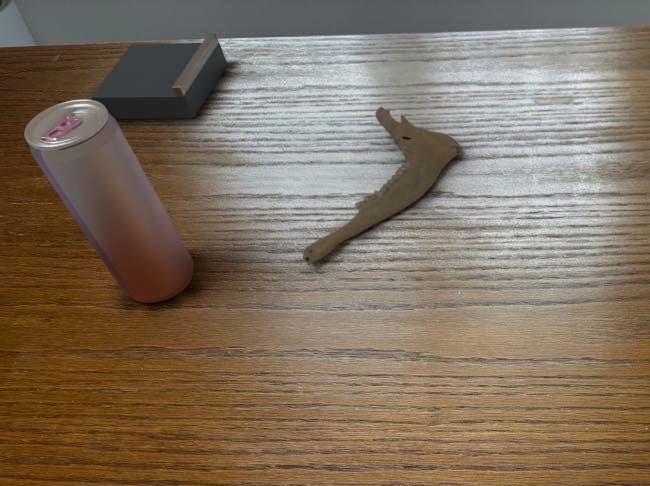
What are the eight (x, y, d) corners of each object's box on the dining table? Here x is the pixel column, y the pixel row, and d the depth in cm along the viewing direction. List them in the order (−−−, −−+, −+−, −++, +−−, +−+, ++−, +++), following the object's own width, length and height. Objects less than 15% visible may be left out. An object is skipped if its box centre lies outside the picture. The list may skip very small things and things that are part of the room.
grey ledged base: (102, 119, 86) (85, 88, 83) (141, 65, 92) (126, 34, 89) (194, 118, 84) (179, 86, 81) (228, 64, 90) (215, 32, 87)
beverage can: (109, 296, 69) (2, 139, 57) (156, 249, 72) (63, 91, 60) (166, 314, 67) (66, 155, 55) (212, 265, 70) (127, 104, 58)
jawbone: (472, 133, 79) (470, 114, 78) (407, 286, 68) (404, 268, 66) (380, 121, 81) (377, 102, 79) (302, 270, 69) (296, 251, 67)
